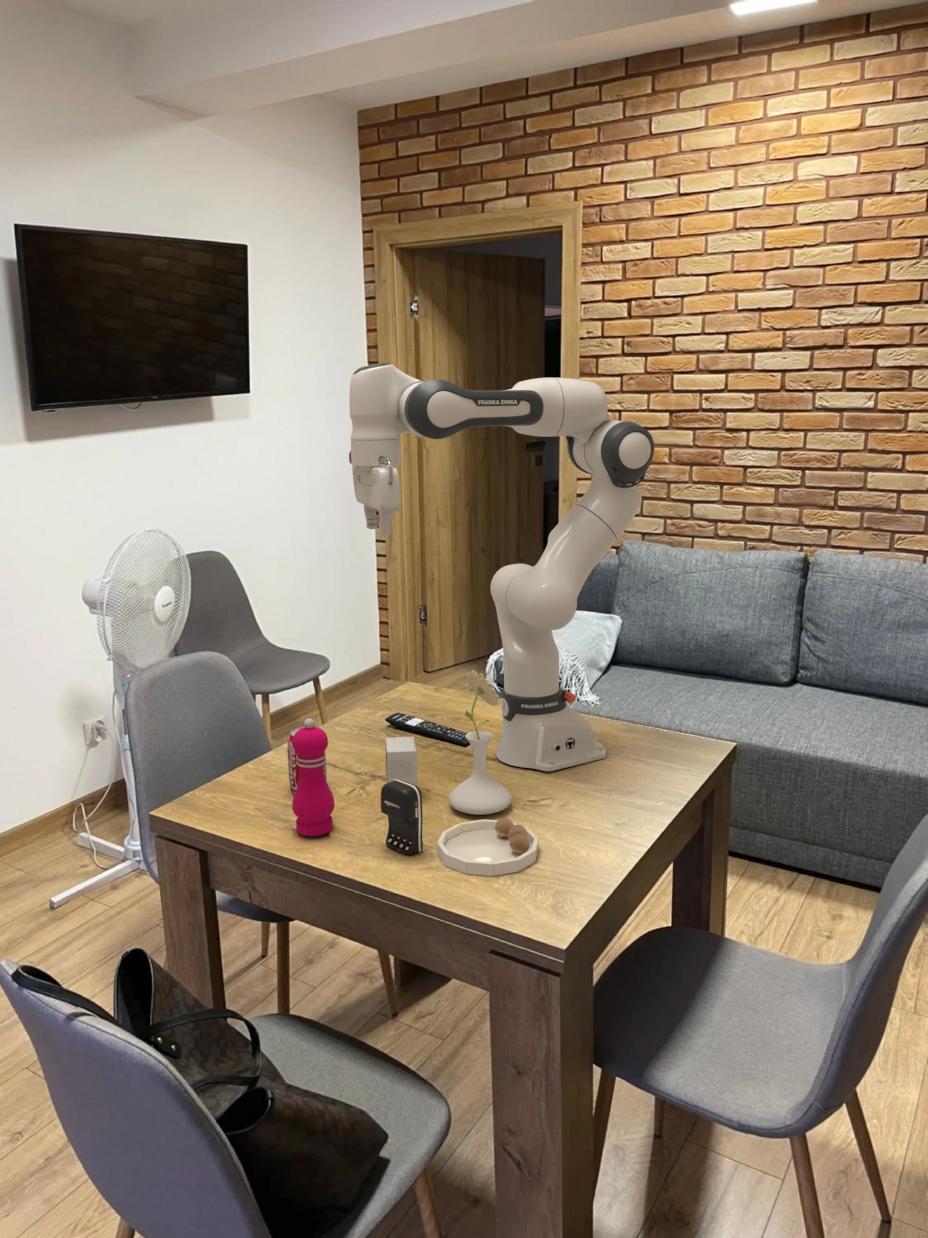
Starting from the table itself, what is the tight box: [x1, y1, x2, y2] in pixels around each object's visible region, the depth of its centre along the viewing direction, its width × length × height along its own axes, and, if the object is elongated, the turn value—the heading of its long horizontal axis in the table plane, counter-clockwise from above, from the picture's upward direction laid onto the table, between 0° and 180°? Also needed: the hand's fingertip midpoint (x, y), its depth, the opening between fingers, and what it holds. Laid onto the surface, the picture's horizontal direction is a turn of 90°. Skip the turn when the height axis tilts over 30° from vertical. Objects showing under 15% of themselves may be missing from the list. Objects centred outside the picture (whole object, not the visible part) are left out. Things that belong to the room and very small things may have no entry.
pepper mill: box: [291, 718, 336, 837], centre depth 165 cm, size 7×7×20 cm
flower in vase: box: [448, 669, 513, 816], centre depth 173 cm, size 13×11×25 cm
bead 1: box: [495, 817, 514, 837], centre depth 161 cm, size 3×3×3 cm
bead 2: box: [508, 824, 527, 840], centre depth 159 cm, size 3×3×3 cm
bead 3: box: [510, 834, 530, 854], centre depth 155 cm, size 3×3×3 cm
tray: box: [436, 818, 540, 877], centre depth 157 cm, size 16×16×2 cm
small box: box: [384, 736, 418, 787], centre depth 179 cm, size 8×6×10 cm
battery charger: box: [380, 779, 424, 856], centre depth 158 cm, size 7×4×11 cm, turn 47°
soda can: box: [286, 725, 328, 794], centre depth 182 cm, size 7×7×12 cm
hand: (378, 531), depth 178 cm, fingers open, 8 cm apart
